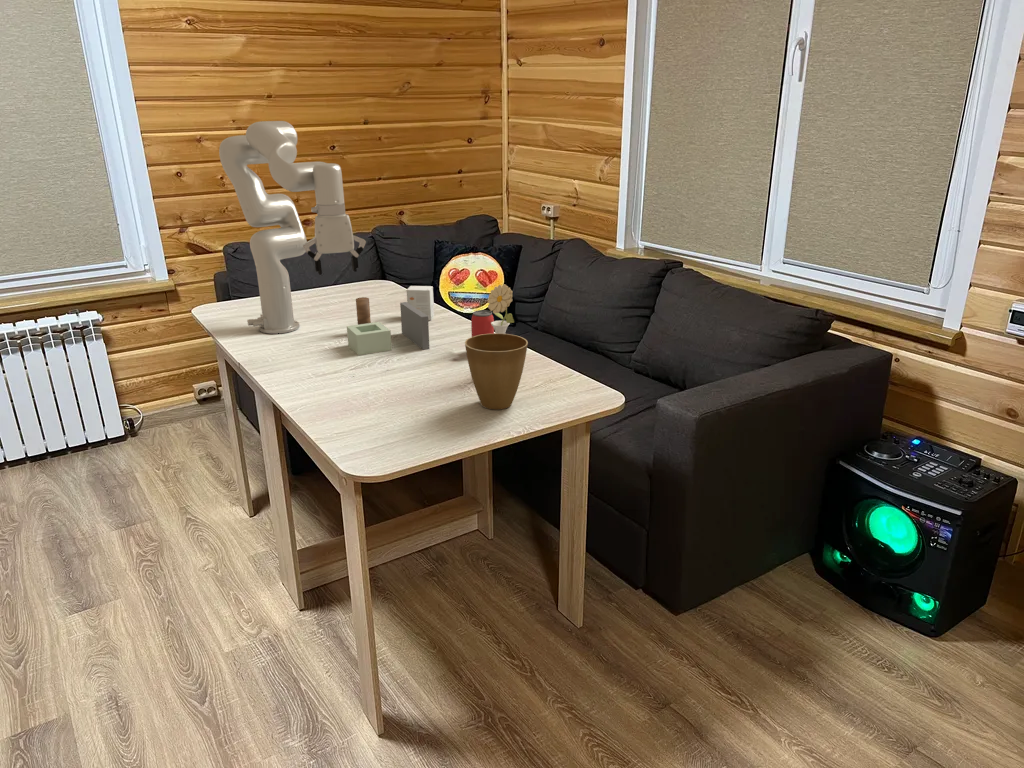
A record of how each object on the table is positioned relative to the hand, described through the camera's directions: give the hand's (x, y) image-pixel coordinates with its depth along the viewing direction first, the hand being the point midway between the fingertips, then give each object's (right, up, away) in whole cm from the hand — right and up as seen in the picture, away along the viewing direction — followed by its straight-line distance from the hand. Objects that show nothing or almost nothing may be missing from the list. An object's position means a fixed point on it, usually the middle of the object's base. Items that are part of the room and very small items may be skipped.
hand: (337, 272), depth 211 cm
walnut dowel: (+3, -17, +23) cm, 29 cm away
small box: (+19, -9, +42) cm, 47 cm away
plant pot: (+45, -37, -28) cm, 65 cm away
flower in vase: (+46, -29, -7) cm, 55 cm away
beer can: (+41, -22, +9) cm, 47 cm away
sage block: (+7, -21, +9) cm, 24 cm away
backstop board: (+11, -21, +11) cm, 26 cm away
